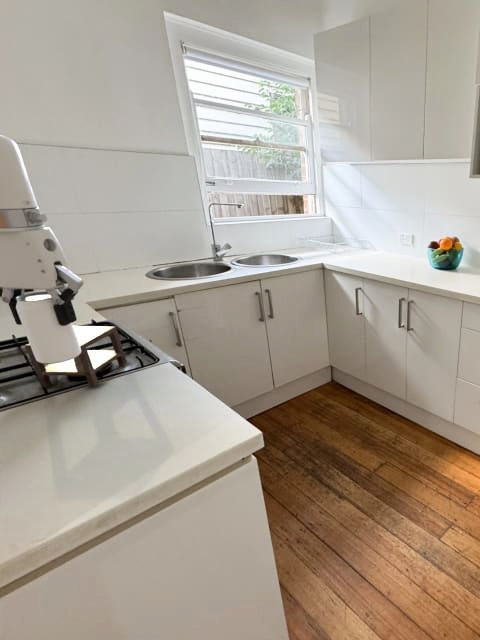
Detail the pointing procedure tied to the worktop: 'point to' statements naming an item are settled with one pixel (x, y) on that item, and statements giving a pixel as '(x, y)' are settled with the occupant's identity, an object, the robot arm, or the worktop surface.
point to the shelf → (83, 356)
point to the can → (46, 329)
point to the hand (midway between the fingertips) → (47, 321)
